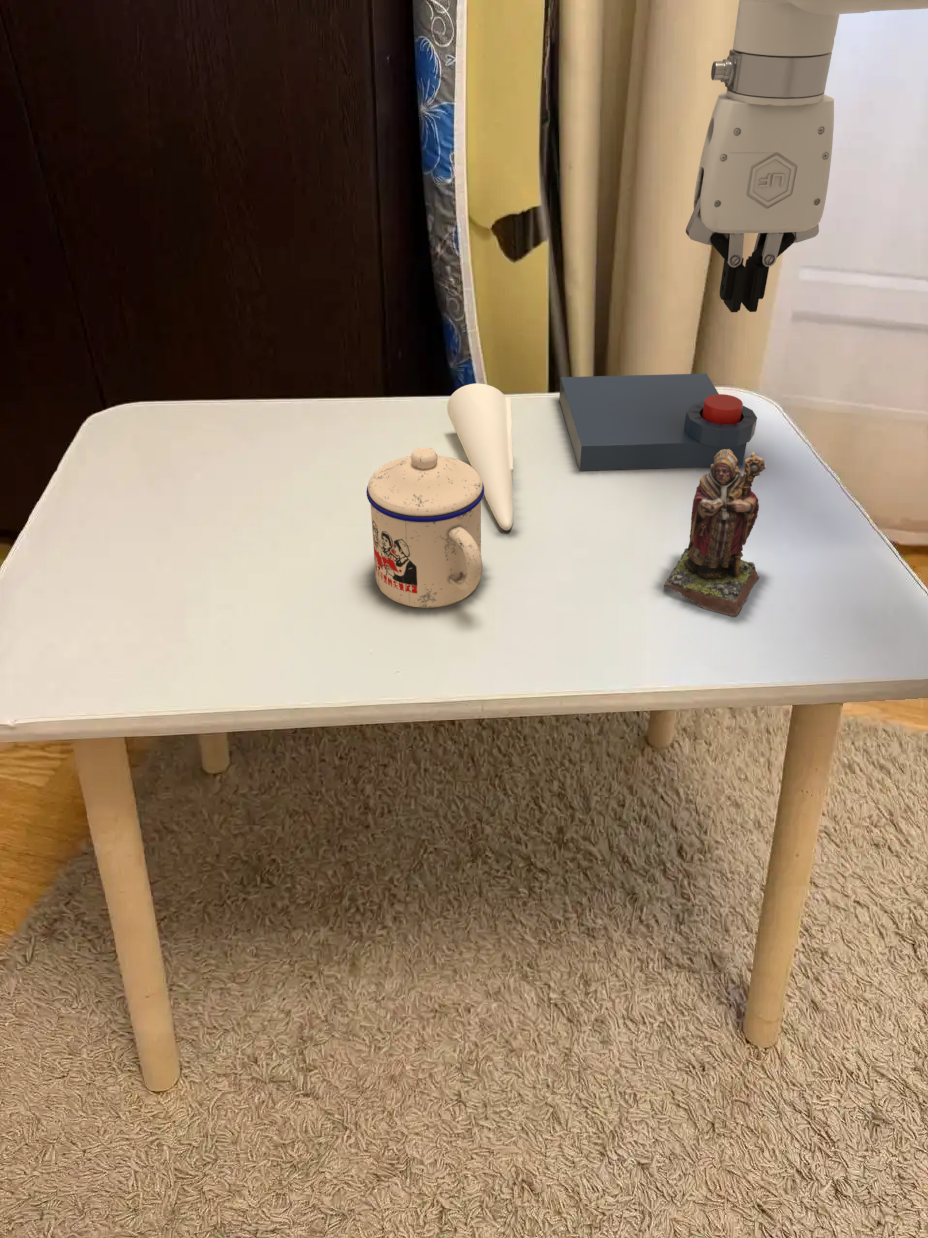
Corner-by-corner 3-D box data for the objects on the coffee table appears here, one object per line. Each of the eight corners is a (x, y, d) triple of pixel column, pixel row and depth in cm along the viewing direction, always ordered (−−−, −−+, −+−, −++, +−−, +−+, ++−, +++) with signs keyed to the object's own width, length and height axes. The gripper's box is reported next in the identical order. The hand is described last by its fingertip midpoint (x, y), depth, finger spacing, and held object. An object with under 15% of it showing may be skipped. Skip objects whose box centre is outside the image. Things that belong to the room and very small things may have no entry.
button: (734, 409, 97) (737, 393, 96) (744, 426, 94) (747, 409, 93) (698, 410, 97) (700, 394, 96) (707, 427, 94) (709, 410, 93)
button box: (712, 396, 109) (718, 357, 107) (756, 471, 96) (764, 428, 93) (559, 400, 109) (561, 360, 106) (581, 476, 95) (584, 433, 92)
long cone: (439, 548, 88) (444, 429, 102) (511, 554, 89) (506, 434, 103) (445, 496, 84) (449, 380, 98) (519, 502, 85) (513, 386, 99)
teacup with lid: (353, 569, 83) (342, 443, 76) (446, 537, 87) (444, 415, 80) (426, 645, 75) (421, 512, 68) (525, 606, 78) (530, 477, 71)
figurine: (683, 556, 84) (702, 427, 77) (760, 576, 82) (786, 445, 74) (657, 595, 80) (675, 461, 72) (737, 617, 77) (763, 481, 70)
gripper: (692, 86, 75) (663, 324, 86) (891, 83, 75) (837, 320, 86) (670, 70, 81) (646, 294, 92) (855, 67, 81) (809, 290, 92)
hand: (739, 305), depth 89 cm, fingers closed
